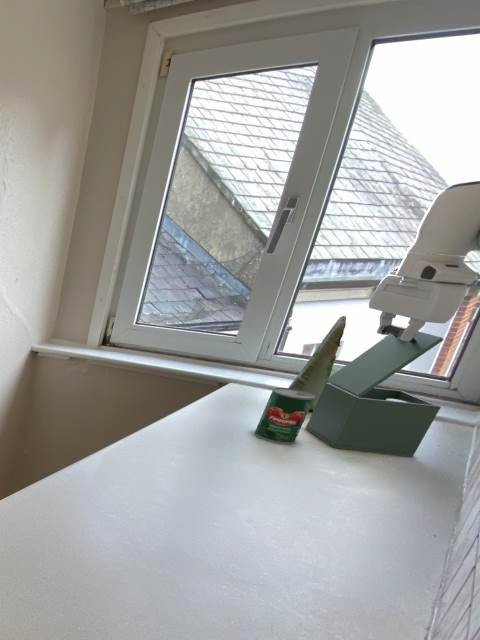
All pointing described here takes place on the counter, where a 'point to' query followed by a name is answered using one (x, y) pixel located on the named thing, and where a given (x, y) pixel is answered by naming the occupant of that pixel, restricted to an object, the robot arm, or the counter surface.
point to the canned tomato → (284, 415)
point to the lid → (382, 361)
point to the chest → (372, 420)
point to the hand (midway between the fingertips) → (392, 337)
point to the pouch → (320, 363)
